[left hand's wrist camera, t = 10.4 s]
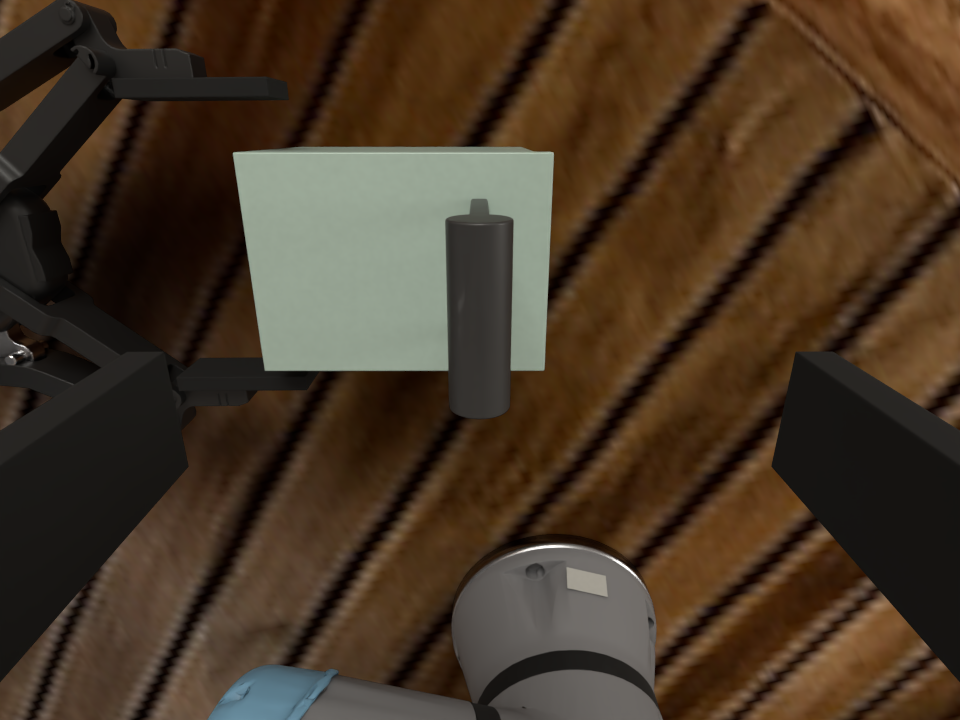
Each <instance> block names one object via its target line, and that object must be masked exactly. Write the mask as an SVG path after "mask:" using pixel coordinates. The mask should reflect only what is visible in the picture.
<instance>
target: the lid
mask: <svg viewBox="0 0 960 720" xmlns="http://www.w3.org/2000/svg"><path fill="white" fill-rule="evenodd" d="M233 157H234V164H235V171H236V178H237V185H238V191H239V198H240V205H241V212H242V219H243V225H244V232H245V239H246V246H247V253H248V260H249V266H250V273H251V280H252V287H253V294H254V300H255V307H256V314H257V321H258V328H259V334H260V341H261V348H262V355H263V362H264V368H265V371H448V378H449V407H450V409H451V411H452V412H454V413H455V414H457V415H459V416H462V417H465V418H470V419H489V418H494V417H497V416H500V415H502V414H504V413H505V412H507V411H508V409H509V407H510V377H511V371H544V367H545V344H546V321H547V298H548V276H549V253H550V230H551V207H552V184H553V161H554V153H553V152H234V153H233Z"/></svg>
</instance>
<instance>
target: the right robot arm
mask: <svg viewBox="0 0 960 720" xmlns="http://www.w3.org/2000/svg"><path fill="white" fill-rule="evenodd" d="M116 31H117V26H116V22H115V20H114V18H113V17H112V16H111V15H110V13H108V12H106V11H104V10H102V9H98V8H95V7H92V6H89V5H86V4H83V3H80V2H77V1H74V0H56V1H54V2H53V3H52V4H50V5H49V6H47V7H46V8H44V9H43V10H41V11H40V12H38V13H37V14H35V15H34V16H32V17H31V18H30V19H28V20H27V21H25V22H24V23H22V24H21V25H19V26H18V27H16V28H15V29H13V30H12V31H10V32H9V33H8V34H6V35H5V36H3V37H2V38H0V111H2V110H4V109H5V108H7V107H8V106H10V105H12V104H13V103H15V102H16V101H18V100H19V99H21V98H22V97H24V96H25V95H27V94H28V93H30V92H31V91H33V90H34V89H36V88H37V87H39V86H41V85H42V84H44V83H45V82H47V81H48V80H50V79H51V78H53V77H54V76H56V75H57V74H59V73H60V72H62V71H63V70H65V69H67V68H68V67H69V68H68V70H67V71H66V72H65V73H64V75H63V76H62V77H61V78H60V80H59V81H58V82H57V83H56V85H55V86H54V87H53V88H52V89H51V91H50V92H49V93H48V94H47V96H46V97H45V98H44V99H43V101H42V102H41V103H40V104H39V106H38V107H37V108H36V109H35V110H34V112H33V113H32V114H31V115H30V117H29V118H28V119H27V120H26V122H25V123H24V124H23V125H22V127H21V128H20V129H19V130H18V131H17V133H16V134H15V135H14V136H13V138H12V139H11V140H10V141H9V143H8V144H7V145H6V146H5V148H4V149H3V150H2V151H1V152H0V385H2V386H13V387H23V388H30V389H32V390H35V391H37V392H40V393H43V394H45V395H48V396H50V397H53V398H54V397H55V396H57V395H59V394H60V393H62V392H63V391H65V390H67V389H68V388H70V387H71V386H73V385H75V384H76V383H78V382H79V381H81V380H83V379H84V378H86V377H88V376H89V375H91V374H92V373H94V372H96V371H97V370H99V369H100V368H102V367H104V366H105V365H107V364H108V363H110V362H112V361H113V360H115V359H116V358H118V357H120V356H121V355H123V354H125V353H126V352H164V351H162V350H161V349H159V348H158V347H156V346H155V345H153V344H152V343H150V342H149V341H147V340H146V339H144V338H143V337H141V336H140V335H138V334H137V333H135V332H134V331H132V330H131V329H129V328H128V327H126V326H125V325H123V324H122V323H120V322H119V321H117V320H116V319H114V318H113V317H111V316H110V315H108V314H107V313H105V312H104V311H102V310H101V309H99V308H98V307H96V306H95V305H94V303H93V298H92V297H91V296H90V295H88V294H87V293H85V292H84V291H82V290H81V289H79V288H78V287H76V286H75V285H73V284H72V283H70V282H69V281H67V279H68V274H70V273H73V270H72V266H71V262H70V259H69V256H68V254H67V253H66V251H65V249H64V247H63V245H62V243H61V225H60V221H59V218H58V214H57V210H50V208H49V206H48V205H47V204H46V203H45V201H44V200H43V198H44V197H45V196H46V195H47V194H48V192H49V191H50V190H51V189H52V188H53V187H54V185H55V184H56V183H57V182H58V181H59V179H60V178H61V174H60V171H61V170H62V169H63V167H64V166H65V165H66V164H67V163H68V162H69V160H70V159H71V158H72V157H73V156H74V155H75V153H76V152H77V151H78V150H79V149H80V148H81V146H82V145H83V144H84V143H85V142H86V141H87V139H88V138H89V137H90V136H91V135H92V134H93V132H94V131H95V130H96V129H97V128H98V127H99V125H100V124H101V123H102V122H103V121H104V119H105V118H106V117H107V116H108V115H109V114H110V112H111V111H112V110H113V109H114V108H115V107H116V105H117V104H118V103H119V102H120V101H121V100H122V99H132V100H142V101H228V100H289V98H288V90H287V82H284V81H280V80H276V79H273V78H269V77H207V75H206V69H205V63H204V58H203V57H200V56H198V55H195V54H193V53H190V52H186V51H183V50H179V49H127V48H126V47H125V46H124V45H123V44H122V43H121V41H120V40H119V38H118V36H117V34H116ZM50 300H52V301H53V302H55V303H56V304H53V305H50V306H46V304H47V303H48V302H49V301H50ZM20 325H23V326H25V327H26V328H28V329H30V330H31V331H33V332H35V333H37V334H39V335H44V336H52V337H54V338H56V339H58V340H59V341H61V342H62V343H64V344H65V345H67V346H68V347H70V348H72V349H73V350H75V351H76V352H78V353H79V354H81V355H82V356H84V357H86V358H87V359H89V360H90V361H92V362H93V363H91V362H89V361H86V360H84V359H82V358H79V357H77V356H74V355H71V354H69V353H66V352H62V351H58V350H52V349H48V344H47V343H46V342H45V341H43V340H39V341H36V340H33V339H30V338H28V337H27V336H25V335H24V334H23V332H22V331H21V329H20ZM164 353H165V352H164ZM165 358H166V363H167V367H168V372H169V377H170V382H171V386H172V391H173V396H174V400H175V405H176V410H177V415H178V419H179V424H180V429H181V430H182V429H183V428H184V427H185V426H186V425H187V424H188V423H189V422H190V421H191V420H192V419H193V418H194V417H195V415H196V409H195V407H194V406H228V405H229V406H240V405H242V404H245V403H247V402H249V401H250V399H251V398H252V397H253V396H254V395H255V394H256V392H257V390H307V389H308V388H309V386H310V385H311V383H312V382H313V380H314V379H315V377H316V376H317V374H318V373H319V371H265V368H264V362H263V358H200V359H199V360H197V361H196V362H195V363H194V364H192V365H191V366H190V367H189V368H188V367H186V366H185V365H183V364H182V363H180V362H179V361H177V360H176V359H174V358H173V357H171V356H170V355H168V354H167V353H165ZM94 363H95V364H94Z"/></svg>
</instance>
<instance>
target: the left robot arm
mask: <svg viewBox="0 0 960 720" xmlns="http://www.w3.org/2000/svg"><path fill="white" fill-rule="evenodd" d="M187 468H188V462H187V457H186V452H185V447H184V443H183V438H182V433H181V429H180V424H179V419H178V415H177V410H176V405H175V400H174V396H173V391H172V386H171V382H170V377H169V372H168V367H167V363H166V358H165V353H164V352H126V353H125V354H123V355H121V356H120V357H118V358H116V359H115V360H113V361H112V362H110V363H108V364H107V365H105V366H104V367H102V368H100V369H99V370H97V371H96V372H94V373H92V374H91V375H89V376H88V377H86V378H84V379H83V380H81V381H79V382H78V383H76V384H75V385H73V386H71V387H70V388H68V389H67V390H65V391H63V392H62V393H60V394H59V395H57V396H55V397H54V398H52V399H50V400H49V401H47V402H46V403H44V404H42V405H41V406H39V407H38V408H36V409H34V410H33V411H31V412H30V413H28V414H26V415H25V416H23V417H22V418H20V419H18V420H17V421H15V422H13V423H12V424H10V425H9V426H7V427H5V428H4V429H2V430H1V431H0V682H1V681H2V679H3V678H4V677H5V676H6V675H7V674H8V673H9V671H10V670H11V669H12V668H13V667H14V666H15V665H16V663H17V662H18V661H19V660H20V659H21V658H22V657H23V655H24V654H25V653H26V652H27V651H28V650H29V649H30V647H31V646H32V645H33V644H34V643H35V642H36V640H37V639H38V638H39V637H40V636H41V635H42V634H43V632H44V631H45V630H46V629H47V628H48V627H49V626H50V624H51V623H52V622H53V621H54V620H55V619H56V618H57V616H58V615H59V614H60V613H61V612H62V611H63V610H64V608H65V607H66V606H67V605H68V604H69V603H70V602H71V600H72V599H73V598H74V597H75V596H76V595H77V594H78V592H79V591H80V590H81V589H82V588H83V587H84V586H85V584H86V583H87V582H88V581H89V580H90V579H91V578H92V576H93V575H94V574H95V573H96V572H97V571H98V570H99V568H100V567H101V566H102V565H103V564H104V563H105V561H106V560H107V559H108V558H109V557H110V556H111V555H112V553H113V552H114V551H115V550H116V549H117V548H118V547H119V545H120V544H121V543H122V542H123V541H124V540H125V539H126V537H127V536H128V535H129V534H130V533H131V532H132V531H133V529H134V528H135V527H136V526H137V525H138V524H139V523H140V521H141V520H142V519H143V518H144V517H145V516H146V515H147V513H148V512H149V511H150V510H151V509H152V508H153V507H154V505H155V504H156V503H157V502H158V501H159V500H160V499H161V497H162V496H163V495H164V494H165V493H166V492H167V491H168V489H169V488H170V487H171V486H172V485H173V484H174V482H175V481H176V480H177V479H178V478H179V477H180V476H181V474H182V473H183V472H184V471H185V470H186V469H187ZM772 468H773V469H774V470H775V471H776V472H777V473H778V474H779V476H780V477H781V478H782V479H783V480H784V481H785V482H786V484H787V485H788V486H789V487H790V488H791V489H792V491H793V492H794V493H795V494H796V495H797V496H798V497H799V499H800V500H801V501H802V502H803V503H804V504H805V505H806V507H807V508H808V509H809V510H810V511H811V512H812V513H813V515H814V516H815V517H816V518H817V519H818V520H819V521H820V523H821V524H822V525H823V526H824V527H825V528H826V529H827V531H828V532H829V533H830V534H831V535H832V536H833V537H834V539H835V540H836V541H837V542H838V543H839V544H840V545H841V547H842V548H843V549H844V550H845V551H846V552H847V553H848V555H849V556H850V557H851V558H852V559H853V560H854V561H855V563H856V564H857V565H858V566H859V567H860V568H861V570H862V571H863V572H864V573H865V574H866V575H867V576H868V578H869V579H870V580H871V581H872V582H873V583H874V584H875V586H876V587H877V588H878V589H879V590H880V591H881V592H882V594H883V595H884V596H885V597H886V598H887V599H888V600H889V602H890V603H891V604H892V605H893V606H894V607H895V608H896V610H897V611H898V612H899V613H900V614H901V615H902V616H903V618H904V619H905V620H906V621H907V622H908V623H909V624H910V626H911V627H912V628H913V629H914V630H915V631H916V632H917V634H918V635H919V636H920V637H921V638H922V639H923V640H924V642H925V643H926V644H927V645H928V646H929V647H930V649H931V650H932V651H933V652H934V653H935V654H936V655H937V657H938V658H939V659H940V660H941V661H942V662H943V663H944V665H945V666H946V667H947V668H948V669H949V670H950V671H951V673H952V674H953V675H954V676H955V677H956V678H957V679H958V681H959V682H960V431H959V430H958V429H956V428H955V427H953V426H951V425H950V424H948V423H947V422H945V421H943V420H942V419H940V418H938V417H937V416H935V415H934V414H932V413H930V412H929V411H927V410H926V409H924V408H922V407H921V406H919V405H918V404H916V403H914V402H913V401H911V400H910V399H908V398H906V397H905V396H903V395H901V394H900V393H898V392H897V391H895V390H893V389H892V388H890V387H889V386H887V385H885V384H884V383H882V382H881V381H879V380H877V379H876V378H874V377H872V376H871V375H869V374H868V373H866V372H864V371H863V370H861V369H860V368H858V367H856V366H855V365H853V364H852V363H850V362H848V361H847V360H845V359H844V358H842V357H840V356H839V355H837V354H835V353H834V352H796V353H795V358H794V363H793V367H792V372H791V377H790V382H789V386H788V391H787V396H786V400H785V405H784V410H783V415H782V419H781V424H780V429H779V433H778V438H777V443H776V447H775V452H774V457H773V462H772ZM452 638H453V645H454V650H455V653H456V656H457V659H458V661H459V663H460V666H461V668H462V670H463V673H464V677H465V680H466V683H467V687H468V690H469V693H470V696H471V699H472V702H473V703H472V702H469V701H464V700H459V699H454V698H449V697H444V696H439V695H434V694H430V693H425V692H420V691H415V690H410V689H405V688H400V687H395V686H390V685H385V684H380V683H375V682H371V681H366V680H361V679H356V678H351V677H346V676H341V675H338V673H339V672H338V670H335V669H329V670H327V671H326V672H323V671H316V670H309V669H302V668H295V667H288V666H282V665H264V666H260V667H257V668H255V669H253V670H251V671H249V672H247V673H246V674H245V675H243V676H242V677H241V678H239V679H238V680H237V681H236V682H235V683H234V684H233V685H232V686H231V687H230V689H229V690H228V691H227V692H226V693H225V695H224V696H223V697H222V699H221V700H220V701H219V703H218V704H217V706H216V707H215V709H214V710H213V712H212V713H211V715H210V716H209V718H208V719H207V720H663V719H662V716H661V713H660V710H659V707H658V704H657V701H656V697H655V694H654V674H655V642H656V619H655V612H654V607H653V603H652V600H651V597H650V595H649V592H648V589H647V587H646V584H645V582H644V580H643V578H642V576H641V574H640V573H639V572H638V570H637V569H636V568H635V566H634V565H633V564H632V563H631V562H630V561H629V560H628V559H627V558H625V557H624V556H623V555H622V554H620V553H619V552H617V551H616V550H614V549H612V548H611V547H609V546H607V545H605V544H602V543H600V542H597V541H594V540H592V539H588V538H584V537H580V536H573V535H564V534H547V535H538V536H532V537H527V538H523V539H519V540H516V541H513V542H510V543H508V544H506V545H503V546H501V547H499V548H497V549H496V550H494V551H492V552H490V553H489V554H487V555H486V556H485V557H483V558H482V559H481V560H480V561H478V562H477V563H476V564H475V565H474V566H473V567H472V568H471V569H470V570H469V572H468V573H467V574H466V575H465V577H464V578H463V580H462V582H461V583H460V585H459V587H458V589H457V592H456V595H455V598H454V603H453V610H452Z"/></svg>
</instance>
